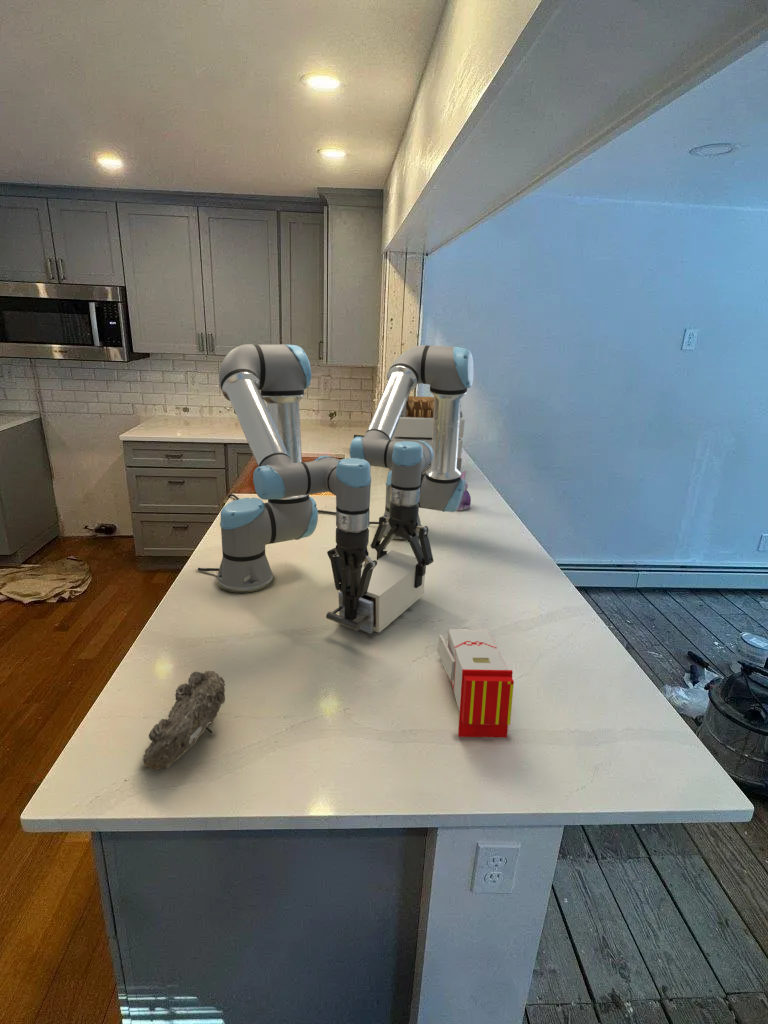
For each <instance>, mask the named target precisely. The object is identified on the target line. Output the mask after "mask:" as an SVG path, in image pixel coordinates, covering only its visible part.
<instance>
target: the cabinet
mask: <svg viewBox="0 0 768 1024" xmlns="http://www.w3.org/2000/svg"><path fill="white" fill-rule="evenodd" d="M376 561H377V565H376V566H375V568H374V569H373V572H372V576H371V579H370V583H369V587H368V590H367V594H365V595H367V596H370V597H373V598H376V624H375V625H373V632H376V633H381V632H382V631H383V630H385V628H388V626H389V625H390V624H392V622H394V621H395V620H396V619H397V618H399V617H400V616H401V615H402V614H404V612H405V611H406V610H408V609H409V608H410V607H411V606H412V605H414V604H415V603H416V602H417V601H418V600H420V599H421V598H422V597H423V596H424V595H425V583H426V581H425V578H426V574H425V575H424V576H422V585H421V586H419V587H418V588H414V583H415V569H416V564H418V561H417V559H416V557H414V556H411V555H408V554H405V553H402V552H398V551H395V550H390V551H387V554H385V555H384V556H383V557H381V558H380V559H378V560H377V559H376ZM363 570H364V568H362V569H361V576H362V572H363Z"/></svg>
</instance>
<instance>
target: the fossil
mask: <svg viewBox="0 0 768 1024" xmlns="http://www.w3.org/2000/svg"><path fill="white" fill-rule="evenodd" d="M225 685H226V682H225V679H224V678H223V676H219V674H218V673H217V672H216V671H215V670H208V671H204V672H199V671H192V672H191V673H190V676H189V677H188V681H187V682H185V683H182V684H180V685H178V686H177V688H176V690H175V695H174V697H175V698H174V699H175V702H174V704H173V706H171V710H170V711H169V712H168V715H167V716H168V718H167V719H165V718H163V719H160V720H159V721H158V723H156V724H155V725H153V727H152V728H151V730H150V731H149V733H148V738H149V741H151V742H150V744H149V745H148V747H147V748H145V750H144V755H143V759H142V761H143V765H144V767H147V768H149V769H151V770H153V771H154V770H159V769H164V768H165V769H169V768H170V767H171V766H173V764H174V763H175V762H176V761H177V760H178V759H180V758H182V756H183V755H184V754H185V753H186V752H187V751H188V750H189V749H190V748H191V747H192V746H193V745H195V743H196V742H197V741H198V738H199V737H200V736H201V735H202V734H203V733H204V732H205V730H206V731H207V732H208V733H209V734H210V735H212V734H213V733H214V731H213V730H212V729H211V728H210V727H209V726H208V725H209V724H210V723H213V722H214V720H215V719H216V717H217V716H218V713H219V711H220V709H221V707H222V705H223V704H224V703H225V702H226V694H225V693H226V688H225Z"/></svg>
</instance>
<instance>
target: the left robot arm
mask: <svg viewBox="0 0 768 1024" xmlns="http://www.w3.org/2000/svg"><path fill="white" fill-rule="evenodd" d="M310 363H311V362H310V359H309V358H308V355H307V353H306V352H305V350H304V349H303V348H302V347H301V346H299V345H297V344H296V345H295V344H285V343H282V344H276V343H275V344H274V343H273V344H262V343H261V344H253V343H247V344H241V345H239V346H237V347H234V348H233V349H231V350H230V351H229V352H228V353H227V354H226V355H225V357H223V360H222V362H221V365H220V367H219V371H218V382H219V383H218V384H219V388H220V390H221V392H222V395H223V397H224V398H225V399H226V400H227V401H229V402H230V404H231V406H232V408H233V411H234V413H235V415H236V417H237V420H238V422H239V426H240V427H241V429H242V433H243V434H244V437H245V439H246V442H247V444H248V446H249V449H250V452H251V453H252V456H253V458H254V460H255V463H256V465H257V467H256V468H255V469H254V471H253V475H252V479H253V480H252V481H253V482H252V483H253V487H254V492H255V494H256V495H257V497H251V498H250V497H243V498H239V499H238V500H237V499H235V500H232V501H229V502H228V503H226V505H224V506H223V507H221V508H222V509H221V511H220V520H219V521H220V522H219V527H220V535H221V549H222V558H221V561H220V565H219V568H217V567H216V568H215V567H198V568H197V571H200V572H217V576H216V580H217V586H218V587H219V588H220V589H222V590H224V591H225V592H229V593H235V594H246V593H253V592H258V591H261V590H263V589H266V588H267V587H269V586H270V585H271V584H272V582H273V581H274V580H273V579H274V578H273V570H272V568H271V566H270V563H269V560H268V558H267V555H266V545H271V544H277V543H283V542H288V541H295V540H296V541H298V540H300V539H304V538H308V537H310V536H312V535H313V534H314V532H315V531H316V529H317V525H318V519H319V512H318V510H319V509H318V508H317V501H316V500H315V499H314V498H313V497H312V496H310V495H316V494H322V493H323V494H324V493H330V494H331V495H334V496H335V512H336V514H335V526H336V528H335V543H336V545H335V547H333V548H331V549H329V550H327V552H326V554H327V556H328V559H329V560H330V561H329V562H330V565H331V571H332V576H333V581H334V582H333V583H334V586H335V587H334V588H335V590H336V591H339V592H340V591H341V592H342V594H343V606H345V618H347V619H349V620H354V619H355V618H356V610H357V608H358V607H359V598H361V597H362V596H364V595H365V594H367V590H368V587H369V583H370V579H371V576H372V572H373V569H374V568H375V566H376V565H377V559H372V558H371V557H370V556H369V555H370V554H369V550H368V546H369V540H370V524H369V522H370V513H371V511H370V506H371V486H372V474H371V466H370V464H369V462H368V461H366V460H363V459H358V458H351V457H346V458H342V459H339V458H337V457H334V456H330V455H320V456H318V457H316V458H315V459H314V460H310V461H303V456H302V455H303V453H302V436H301V434H302V433H301V416H300V401H301V400H302V399H303V398H304V397H305V390H307V389H308V388H309V387H310V385H311V381H312V366H311V364H310ZM264 501H267V502H264ZM363 563H364V564H363ZM363 569H364V570H363ZM362 570H363V572H362V576H361V571H362Z"/></svg>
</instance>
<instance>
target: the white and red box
mask: <svg viewBox="0 0 768 1024" xmlns="http://www.w3.org/2000/svg"><path fill="white" fill-rule="evenodd" d="M446 640H447V643H446V641H445V639H444V636H443V635H442V634H439V637H438V646H437V656H438V657H439V659H440V661H441V663H442V666H443V668H444V670H445V672H446V674H447V677H448V679H449V681H450V684H451V687H452V690H453V693H454V697H455V701H456V705H457V708H458V711H459V714H458V715H459V716H458V730H457V731H458V732H457V737H458V738H508V731H509V726H510V725H511V717H512V707H513V697H514V696H513V695H514V684H515V680H514V679H513V673H514V671H513V670H512V669H508V667H507V665H506V662H505V661H504V659H503V658H502V655H501V653H500V651H499V649H498V647H497V643H496V639H495V637H494V635H493V634H491V632H490V631H489V629H467V628H466V629H465V628H463V629H461V628H460V629H459V628H448V630H447V639H446Z"/></svg>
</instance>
